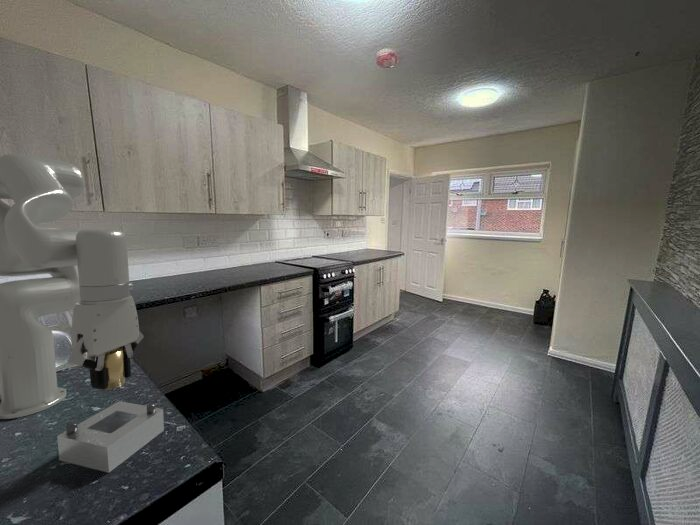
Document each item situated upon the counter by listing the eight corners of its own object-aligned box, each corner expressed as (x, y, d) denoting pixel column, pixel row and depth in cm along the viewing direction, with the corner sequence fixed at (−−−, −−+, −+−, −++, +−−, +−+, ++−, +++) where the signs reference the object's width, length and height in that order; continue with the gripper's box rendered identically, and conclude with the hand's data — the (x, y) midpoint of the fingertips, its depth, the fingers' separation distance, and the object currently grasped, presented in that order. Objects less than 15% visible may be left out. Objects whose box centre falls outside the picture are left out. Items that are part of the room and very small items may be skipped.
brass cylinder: (94, 388, 58) (91, 354, 57) (114, 379, 62) (112, 346, 61) (110, 391, 57) (107, 356, 56) (129, 381, 61) (127, 348, 60)
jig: (59, 460, 56) (56, 427, 56) (120, 421, 68) (119, 394, 67) (108, 472, 54) (106, 439, 53) (164, 430, 65) (162, 402, 65)
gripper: (130, 284, 66) (135, 362, 68) (38, 301, 50) (47, 402, 52) (158, 286, 65) (162, 366, 67) (71, 303, 49) (80, 408, 50)
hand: (112, 381), depth 59 cm, fingers closed on brass cylinder, 4 cm apart
